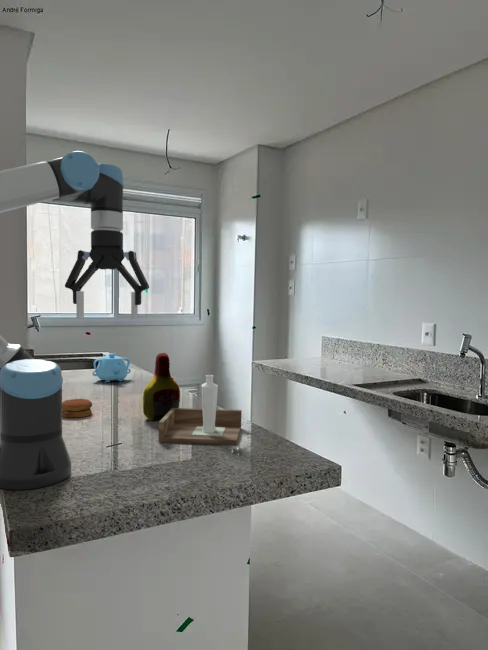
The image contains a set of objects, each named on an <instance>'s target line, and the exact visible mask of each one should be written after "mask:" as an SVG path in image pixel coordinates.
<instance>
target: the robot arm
mask: <svg viewBox="0 0 488 650" xmlns="http://www.w3.org/2000/svg"><path fill="white" fill-rule="evenodd" d="M123 177H124V176H123V170H122V169H121V168H120V167H119V166H117V165H115V164H110V163H97V160H95V158H94V157H93V156H91V155H90V154H89V153H87V152H85V151H80V150H75V151H72V152H69V153H66V154H65V155H64V156H63V157H58V158H54V159H49V160H44V161H39V162H35V163H30V164H25V165H22V166H17V167H12V168H11V167H10V168H7V169H3V170H0V214H2V213H5V212H11V211H13V210H17V209H21V208H25V207H28V206H33V205H36V204H37V205H38V204H40V203H45V202H49V201H51V202H63V203H71V204H72V203H73V204H83V205H90V229H91V230H92V231H91V232H90V251H85V250H82V249H80V250H78V251H77V257H76V261H75V263H74V265H73V267H72V269H71V271H70V274H69V276H68V278H67V279H66V282H65V283H64V287H65V288H66V289H69V290H71V291H72V303H73V305H76V319H81V318H83V319H84V318H85V291H84V290H82V289H83V287H84V286H86V284H87V282H88V281H90V279H91V278H92V277H93V275H94V274H95V273H96V272H98V270H104V271H105V270H117V271H118V273H120V274H121V277H123V278H124V279H125V280H126V282H127V283H128V284H129V286H130V287H131V288H132V289H133V291H131V294H130V296H131V297H130V299H131V300H130V301H131V303H130V304H131V306H130V307H131V309H130V310H131V311H130V313H131V314H130V319H131V320H137V319H138V309H139V308H138V306H140V305H142V293H143V292H144V291H146V290H149V289H150V285H149V283H148V281H147V279H146V277H145V274H144V272H143V270H142V269H141V266H140V264H139V262H138V260H137V258H138V257H137V253H136V252H135V251H134V250H129V251H126V252H125V250H124V234H123V232H121V231H123V230H124V210H123V209H124V208H123V207H124V205H123V204H124V187H125V186H124V178H123ZM89 258H90V259H91V261H92V262H91V263H90V264H89V265H88V267H87V268H86V270H85V271H84V272H83V274H82V275H81V276H80V274H81V272H82V270H83V269H84V266H85V264H86V261H87V260H88V259H89ZM125 258H126V260H127V261H129V264H130V267H131V268H132V270H133V273H134V275H135V277H136V279H137V280H136V279H135V278H134V277H133V276H132V274H131V273H130V272H129V271H128V270H127V268H126V267H125V265H124V264H123V263H122V262H123V260H124V259H125ZM79 276H80V277H79ZM137 281H138V282H137ZM63 379H64V378H63V375H62V368H61V366H60V365H59V364H57V363H56V362H55V361H54V362H53V361H51V360H45V359H39V358H38V359H36V358H34V357H32V356H31V354H29V352H28V351H26V349H25V348H24V347H22V345H21V344H19V343H16V344H15V343H9V342H8V341H7V340H6V339H5V338H4V337H3V336H2V334H0V489H4V490H11V491H13V490H15V491H17V490H21V491H22V490H32V489H39V488H43V487H44V488H45V487H48V486H51V485H55V484H57V483H60V482H62V481H64V480H65V479H67V478H69V476H70V475H71V474H72V459H71V457H70V455H69V452H68V449H67V446H66V443H65V441H64V437H63V417H62V402H63V382H64V381H63Z"/></svg>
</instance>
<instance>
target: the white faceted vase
mask: <svg viewBox="0 0 488 650" xmlns="http://www.w3.org/2000/svg"><path fill="white" fill-rule="evenodd" d="M200 389H201V406H202V407H201V409H202V410H203V428H202V431H203V432H204V433H213V432H215V431H216V427H215V417H216V409H217V403H218V390H219V385H218V384H217V383H215V382H214V375H213V374H206V375H205V382H203V383H202V384H201V388H200Z"/></svg>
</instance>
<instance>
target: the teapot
mask: <svg viewBox="0 0 488 650" xmlns="http://www.w3.org/2000/svg"><path fill="white" fill-rule="evenodd" d="M125 360H126V361H127V363H125ZM97 362H98V364H97ZM130 363H131V361H130V359H129V358H128V357H125V356H124V357H122V356H117V355H116V353H108V355H104V356H102V357H101V358H96V359H95V360H94V361H93V368H94V370H93V372H92V376H93V377H97V378H98V379H99V380H100V381H101V380H105V381H104V383H105V382H110V383H111V381H117V382H118V381H123V382H124V379H126V378H127V376H128V374H130V373H131V369H130V368H129V367H130Z"/></svg>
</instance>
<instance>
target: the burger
mask: <svg viewBox="0 0 488 650" xmlns="http://www.w3.org/2000/svg"><path fill="white" fill-rule="evenodd" d="M92 407H93V403H92V401H91V400H89V399H86V398H74V399H73V398H72V399H66V400H64V401H62V418H85V417H89V416H91V415H92V414H93V412H92V409H91V408H92Z"/></svg>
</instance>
